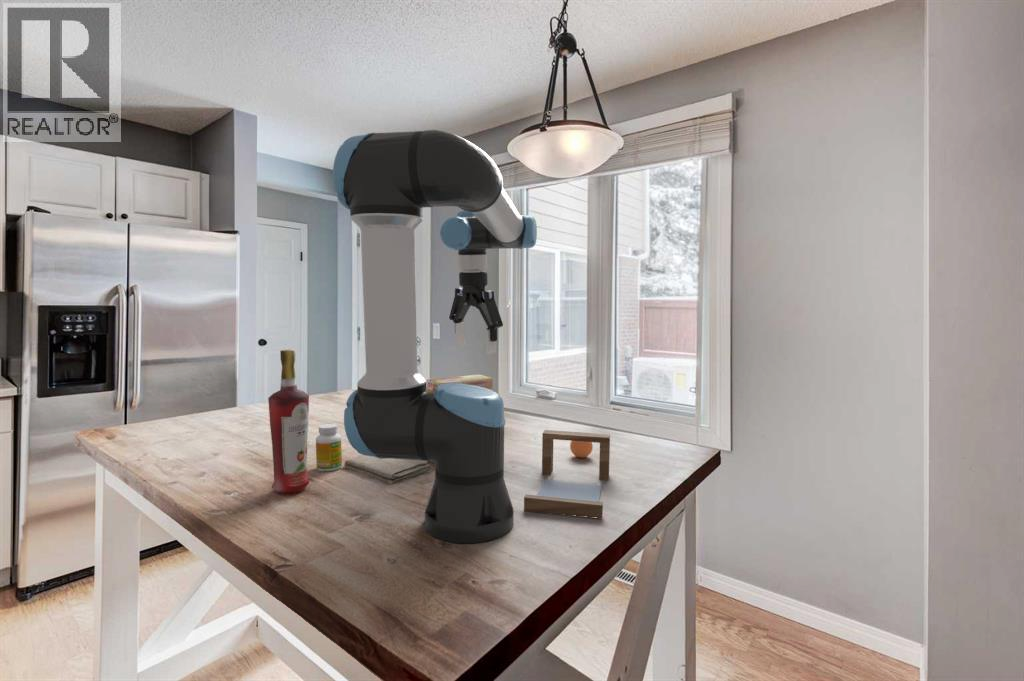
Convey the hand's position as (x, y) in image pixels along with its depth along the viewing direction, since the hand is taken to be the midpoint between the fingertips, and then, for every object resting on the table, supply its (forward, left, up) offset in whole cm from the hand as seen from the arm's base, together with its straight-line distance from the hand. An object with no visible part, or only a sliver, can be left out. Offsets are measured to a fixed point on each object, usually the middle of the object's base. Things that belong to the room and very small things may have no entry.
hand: (475, 349), depth 135 cm
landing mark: (-33, -30, -25) cm, 51 cm away
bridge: (-21, -30, -25) cm, 44 cm away
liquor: (-45, +24, -25) cm, 57 cm away
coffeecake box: (-15, -1, -25) cm, 30 cm away
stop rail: (-42, -30, -25) cm, 58 cm away
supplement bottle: (-31, +25, -25) cm, 47 cm away
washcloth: (-28, +12, -26) cm, 40 cm away
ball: (-8, -30, -22) cm, 38 cm away
